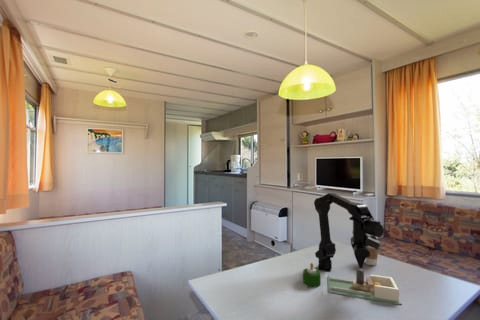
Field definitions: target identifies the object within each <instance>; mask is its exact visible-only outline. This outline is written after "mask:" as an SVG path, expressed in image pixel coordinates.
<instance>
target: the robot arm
mask: <svg viewBox="0 0 480 320" xmlns="http://www.w3.org/2000/svg"><path fill="white" fill-rule="evenodd" d="M331 204H335V205H337V206H339V207H341V208H343V209H345V210H346V211H347V212H348V214H349V215H351V217H349V221H352V236H351V237H350V245H351V248H352V250H353V254H354V255H353V256H354V257H355V260H356V262H357V264H358V267H359V268H358V269H363V267H364V264H365V258H367V257H369V256H370V251H369V249H368V248H367V247H368V245H369V246H371V247H373V248H375V249H377V250H378V251H379V248H380V246H381V244H382V243H381V242H380V240H379V239H378V240H376V238H382V236H383V235H384V231H385V229H384V227H383V225H382V224H381V221H380V220H379V221H378V220H375V219H374V216H373V215H372V213H371V212H370V209H369V208H368V207H369V206H368V205H367V204H364V203H360V202H356V201H355V202H354V201H351V200H348V199H347V198H344V196H343V197H342V196H341V195H338V194H337V193H335V192H329V193H326V194H325V195H323V196H320V197H317V198H315V199H314V204H313V205H314V209H315V211H316V212H317V214H318V219H319V222H318V223H319V229H320V239H321V240H320V242H319V244H318V250H317V251H316V252H314V254H315V258H317V259H318V268H317V270H318V271H326V272H331V271H332V266H333V265H332V261H333V260H332V258H334V256H335V254H336V251H337V249H336V243H334V242H333V241H332V240H331V231H330V222H329V221H330V220H329V212H330V210H331ZM368 236H370V237H368ZM365 246H366V247H365Z"/></svg>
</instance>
